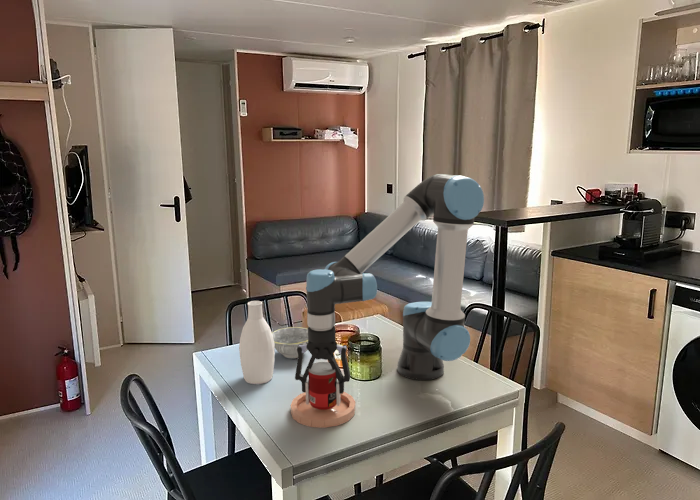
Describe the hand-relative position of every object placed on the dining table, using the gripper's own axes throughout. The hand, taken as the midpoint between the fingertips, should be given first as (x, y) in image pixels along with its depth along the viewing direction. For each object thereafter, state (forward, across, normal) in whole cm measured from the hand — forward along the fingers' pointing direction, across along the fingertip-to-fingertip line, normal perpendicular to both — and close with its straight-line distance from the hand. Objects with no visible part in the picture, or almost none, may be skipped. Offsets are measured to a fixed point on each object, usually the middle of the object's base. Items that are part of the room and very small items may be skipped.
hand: (323, 402), depth 151 cm
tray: (+2, 0, 0) cm, 2 cm away
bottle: (+3, +24, -19) cm, 31 cm away
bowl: (+3, +17, -39) cm, 43 cm away
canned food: (0, 0, 0) cm, 0 cm away
